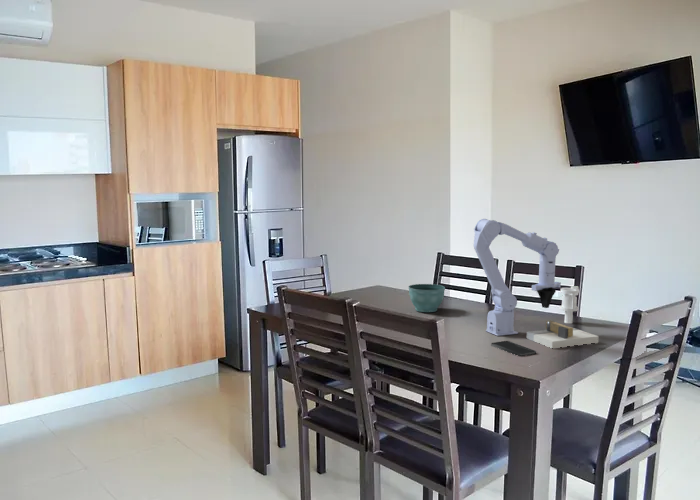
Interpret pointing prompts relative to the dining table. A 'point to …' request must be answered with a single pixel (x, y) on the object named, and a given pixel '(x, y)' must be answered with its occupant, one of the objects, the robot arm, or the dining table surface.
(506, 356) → the dining table surface
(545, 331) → the white panel
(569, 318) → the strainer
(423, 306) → the flower pot
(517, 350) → the phone
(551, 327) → the bar
